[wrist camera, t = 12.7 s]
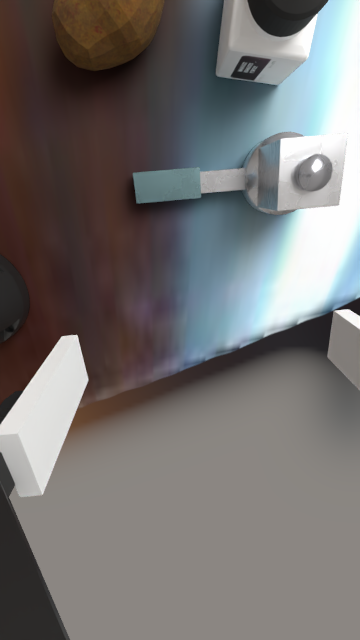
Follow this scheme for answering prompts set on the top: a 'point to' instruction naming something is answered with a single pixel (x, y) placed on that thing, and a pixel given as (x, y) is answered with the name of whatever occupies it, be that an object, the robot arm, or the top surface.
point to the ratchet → (206, 180)
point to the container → (265, 38)
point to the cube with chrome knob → (301, 172)
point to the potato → (105, 30)
